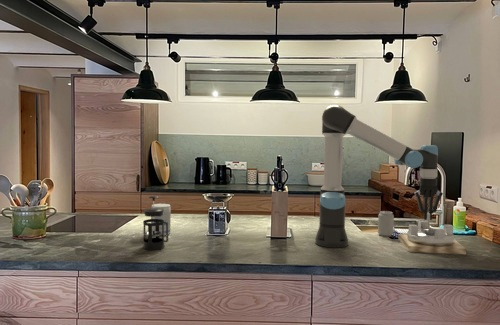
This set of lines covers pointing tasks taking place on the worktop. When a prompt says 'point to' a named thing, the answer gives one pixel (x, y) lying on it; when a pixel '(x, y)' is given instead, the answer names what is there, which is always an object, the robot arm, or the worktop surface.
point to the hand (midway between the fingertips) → (427, 226)
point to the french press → (155, 242)
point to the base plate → (431, 247)
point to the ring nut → (430, 235)
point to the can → (385, 223)
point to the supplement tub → (163, 216)
